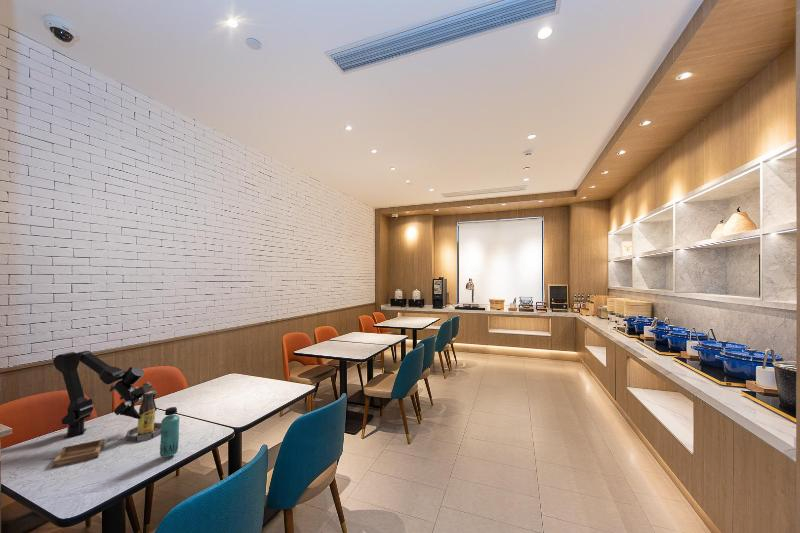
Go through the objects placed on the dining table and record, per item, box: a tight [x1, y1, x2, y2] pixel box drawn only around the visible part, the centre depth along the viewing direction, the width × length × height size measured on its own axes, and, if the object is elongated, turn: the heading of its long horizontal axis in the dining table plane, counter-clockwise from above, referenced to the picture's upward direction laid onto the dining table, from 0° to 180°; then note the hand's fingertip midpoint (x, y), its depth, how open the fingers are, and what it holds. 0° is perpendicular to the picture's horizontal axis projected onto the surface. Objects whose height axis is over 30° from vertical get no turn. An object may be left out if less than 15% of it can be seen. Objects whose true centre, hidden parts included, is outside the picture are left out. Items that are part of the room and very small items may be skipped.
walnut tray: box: [52, 438, 105, 469], centre depth 133 cm, size 13×13×2 cm
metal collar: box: [125, 421, 162, 443], centre depth 152 cm, size 14×14×2 cm
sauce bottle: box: [136, 390, 156, 436], centre depth 152 cm, size 7×6×20 cm
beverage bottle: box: [159, 406, 181, 458], centre depth 133 cm, size 6×7×20 cm
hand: (148, 414), depth 152 cm, fingers open, 9 cm apart
